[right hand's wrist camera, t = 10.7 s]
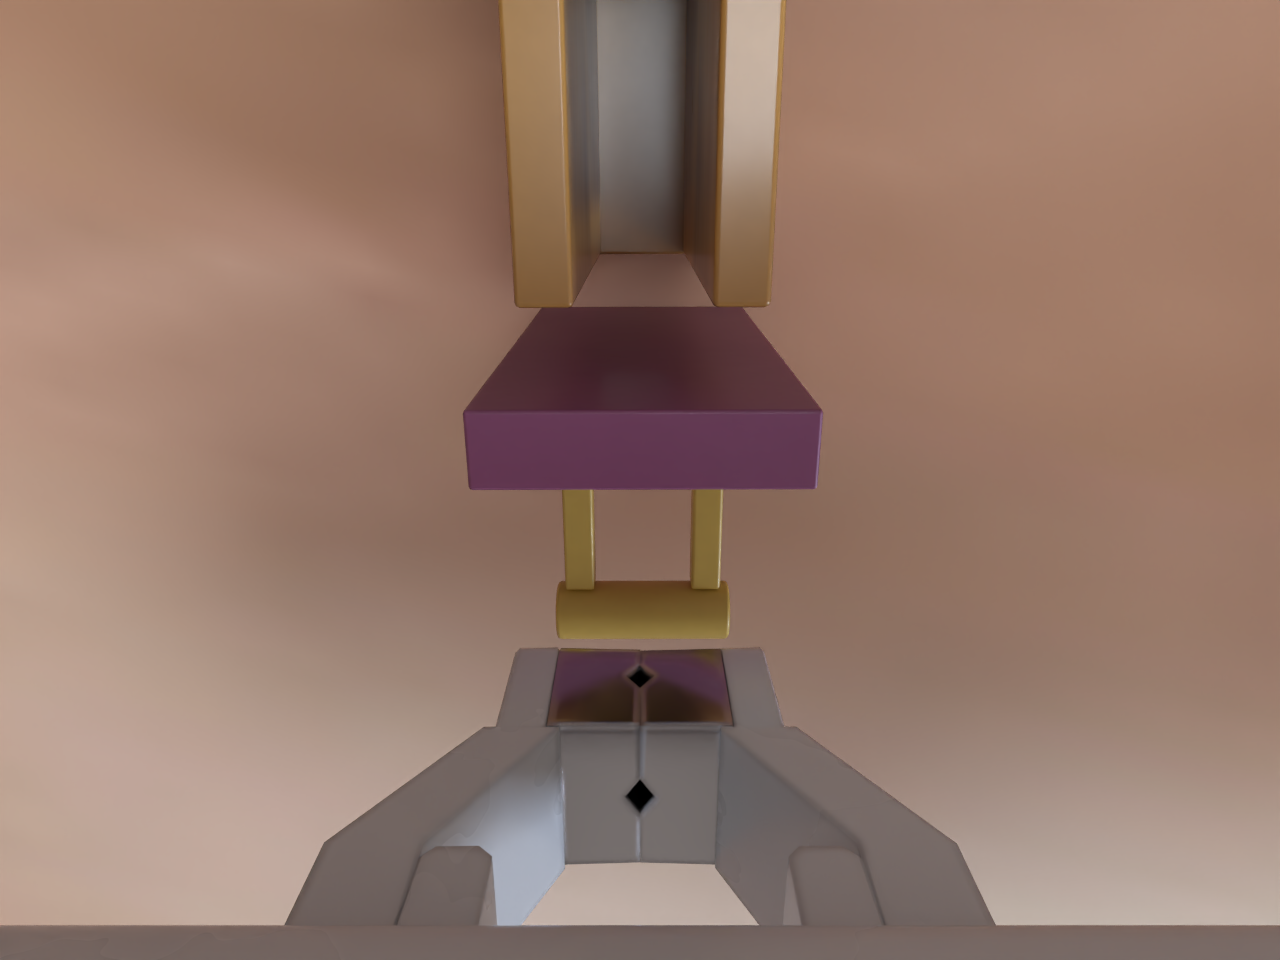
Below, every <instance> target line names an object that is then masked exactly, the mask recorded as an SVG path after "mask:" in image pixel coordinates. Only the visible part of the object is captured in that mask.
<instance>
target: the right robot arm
mask: <svg viewBox="0 0 1280 960" xmlns="http://www.w3.org/2000/svg"><path fill="white" fill-rule="evenodd" d="M629 862H649V863H684V864H715V868H716V869H717V871H718V872H719V873H720V875H721V876H722V877H723V879H724V880H725V881H726V882H727V884H728V885H729V886H730V888H731V889H732V890H733V891H734V893H735V894H736V895H737V897H738V898H739V899H740V901H741V902H742V903H743V904H744V906H745V907H746V908H747V910H748V911H749V912H750V913H751V915H752V916H753V917H754V919H755V920H756V921H757V923H758V924H759V925H521V924H522V923H523V922H524V921H525V919H526V918H527V917H528V915H529V914H530V913H531V912H532V910H533V909H534V908H535V906H536V905H537V904H538V903H539V901H540V900H541V899H542V897H543V896H544V895H545V894H546V892H547V891H548V890H549V888H550V887H551V886H552V885H553V883H554V882H555V881H556V879H557V878H558V877H559V876H560V874H561V873H562V872H563V870H564V869H565V864H594V863H629ZM0 960H1280V926H1270V925H995V923H994V921H993V919H992V916H991V914H990V912H989V910H988V908H987V906H986V904H985V902H984V900H983V898H982V895H981V893H980V891H979V889H978V887H977V885H976V883H975V881H974V879H973V877H972V874H971V872H970V870H969V868H968V866H967V864H966V862H965V860H964V858H963V856H962V853H961V851H960V849H959V847H958V845H957V843H955V842H954V841H952V840H951V839H950V838H948V837H947V836H946V835H944V834H943V833H941V832H940V831H939V830H937V829H936V828H935V827H933V826H932V825H930V824H929V823H928V822H926V821H925V820H924V819H922V818H921V817H919V816H918V815H917V814H915V813H914V812H913V811H911V810H910V809H908V808H907V807H906V806H904V805H903V804H902V803H900V802H899V801H897V800H896V799H895V798H893V797H892V796H891V795H889V794H888V793H886V792H885V791H884V790H882V789H881V788H880V787H878V786H877V785H875V784H874V783H873V782H871V781H870V780H869V779H867V778H866V777H864V776H863V775H862V774H860V773H859V772H858V771H856V770H855V769H853V768H852V767H851V766H849V765H848V764H847V763H845V762H844V761H842V760H841V759H840V758H838V757H837V756H836V755H834V754H833V753H831V752H830V751H829V750H827V749H826V748H825V747H823V746H822V745H820V744H819V743H818V742H816V741H815V740H814V739H812V738H811V737H809V736H808V735H807V734H805V733H804V732H803V731H801V730H800V729H798V728H797V727H784V724H783V720H782V716H781V713H780V709H779V705H778V702H777V698H776V694H775V690H774V687H773V683H772V679H771V676H770V672H769V668H768V664H767V661H766V657H765V653H764V651H763V650H762V649H761V648H760V647H754V648H729V649H691V650H651V651H640V650H627V649H576V648H561V649H560V650H559V649H558V648H520V649H519V650H518V651H517V652H516V653H515V656H514V660H513V664H512V667H511V671H510V675H509V679H508V682H507V686H506V690H505V694H504V698H503V701H502V705H501V709H500V713H499V716H498V720H497V724H496V727H483V728H482V729H480V730H479V731H478V732H476V733H475V734H473V735H472V736H471V737H469V738H468V739H466V740H465V741H464V742H462V743H461V744H460V745H458V746H457V747H455V748H454V749H453V750H451V751H450V752H449V753H447V754H446V755H444V756H443V757H442V758H440V759H439V760H437V761H436V762H435V763H433V764H432V765H431V766H429V767H428V768H426V769H425V770H424V771H422V772H421V773H420V774H418V775H417V776H415V777H414V778H413V779H411V780H410V781H408V782H407V783H406V784H404V785H403V786H402V787H400V788H399V789H397V790H396V791H395V792H393V793H392V794H390V795H389V796H388V797H386V798H385V799H384V800H382V801H381V802H379V803H378V804H377V805H375V806H374V807H373V808H371V809H370V810H368V811H367V812H366V813H364V814H363V815H361V816H360V817H359V818H357V819H356V820H355V821H353V822H352V823H350V824H349V825H348V826H346V827H345V828H344V829H342V830H341V831H339V832H338V833H337V834H335V835H334V836H332V837H331V838H330V839H328V840H327V841H326V842H324V844H323V846H322V848H321V850H320V852H319V854H318V856H317V858H316V861H315V863H314V865H313V867H312V869H311V871H310V873H309V875H308V877H307V879H306V881H305V883H304V885H303V888H302V890H301V892H300V894H299V896H298V898H297V900H296V902H295V904H294V906H293V908H292V910H291V912H290V914H289V917H288V919H287V921H286V923H285V925H0Z"/></svg>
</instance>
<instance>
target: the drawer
mask: <svg viewBox="0 0 1280 960" xmlns="http://www.w3.org/2000/svg"><path fill="white" fill-rule="evenodd" d="M498 10H499V28H500V46H501V65H502V83H503V101H504V120H505V138H506V156H507V174H508V193H509V211H510V229H511V248H512V266H513V284H514V302H515V305H516V306H517V307H519V308H542V309H541V310H540V311H539V313H538V314H537V315H536V316H535V318H534V319H533V320H532V322H531V323H530V324H529V326H528V327H527V328H526V330H525V331H524V332H523V334H522V335H521V336H520V338H519V339H518V340H517V342H516V343H515V344H514V346H513V347H512V348H511V349H510V351H509V352H508V353H507V355H506V356H505V357H504V359H503V360H502V361H501V363H500V364H499V365H498V367H497V368H496V369H495V371H494V372H493V373H492V375H491V376H490V377H489V378H488V380H487V381H486V382H485V384H484V385H483V386H482V388H481V389H480V390H479V392H478V393H477V394H476V396H475V397H474V398H473V400H472V401H471V402H470V404H469V405H468V406H467V408H466V409H465V410H464V412H463V421H464V433H465V446H466V458H467V471H468V484H469V488H470V489H471V490H562V503H563V529H564V555H565V581H561V582H559V584H558V587H557V595H556V630H557V635H558V637H559V638H561V639H725V638H727V637H728V634H729V628H730V598H729V589H728V585H727V582H725V581H720V569H721V540H722V511H723V489H816V487H817V485H818V472H819V459H820V446H821V433H822V420H823V412H822V409H821V408H820V407H819V406H818V404H817V403H816V402H815V400H814V399H813V398H812V397H811V395H810V394H809V393H808V391H807V390H806V389H805V388H804V386H803V385H802V384H801V382H800V381H799V380H798V379H797V377H796V376H795V375H794V373H793V372H792V371H791V370H790V368H789V367H788V366H787V364H786V363H785V362H784V361H783V359H782V358H781V357H780V355H779V354H778V353H777V352H776V350H775V349H774V348H773V346H772V345H771V344H770V343H769V341H768V340H767V339H766V337H765V336H764V335H763V334H762V332H761V331H760V330H759V328H758V327H757V326H756V325H755V323H754V322H753V321H752V319H751V318H750V317H749V316H748V314H747V313H746V312H745V310H744V309H743V308H742V307H766V306H768V305H769V304H770V302H771V288H772V269H773V249H774V230H775V211H776V191H777V172H778V152H779V133H780V114H781V94H782V75H783V55H784V36H785V17H786V0H498ZM600 254H685V255H686V257H687V259H688V261H689V262H690V264H691V266H692V268H693V269H694V271H695V273H696V275H697V276H698V278H699V280H700V282H701V284H702V285H703V287H704V289H705V291H706V292H707V294H708V296H709V298H710V299H711V301H712V303H713V305H714V306H717V307H571V306H572V305H573V303H574V301H575V299H576V297H577V295H578V294H579V292H580V290H581V288H582V286H583V284H584V282H585V281H586V279H587V277H588V275H589V273H590V271H591V269H592V268H593V266H594V264H595V262H596V260H597V258H598V256H599V255H600ZM663 489H692V491H691V541H690V581H595V579H596V564H595V521H594V490H663Z"/></svg>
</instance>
